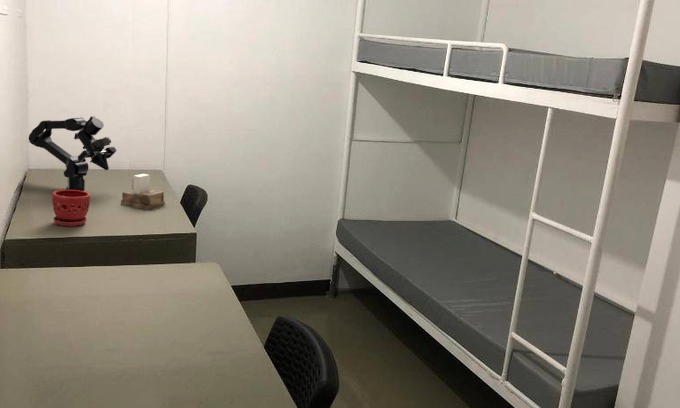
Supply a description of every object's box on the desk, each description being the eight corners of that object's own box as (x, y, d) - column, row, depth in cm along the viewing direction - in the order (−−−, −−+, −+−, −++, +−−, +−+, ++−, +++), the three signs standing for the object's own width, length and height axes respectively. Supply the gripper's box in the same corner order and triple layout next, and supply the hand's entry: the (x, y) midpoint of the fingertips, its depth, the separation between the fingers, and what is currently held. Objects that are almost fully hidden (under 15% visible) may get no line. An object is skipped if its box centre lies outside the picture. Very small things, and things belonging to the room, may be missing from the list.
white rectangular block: (131, 199, 273) (131, 175, 270) (140, 197, 278) (141, 173, 276) (139, 201, 271) (139, 177, 268) (149, 199, 277) (149, 174, 274)
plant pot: (73, 230, 230) (73, 198, 227) (44, 223, 234) (44, 192, 231) (97, 222, 242) (97, 192, 239) (69, 216, 246) (69, 187, 243)
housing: (120, 203, 272) (121, 190, 270) (139, 199, 282) (139, 186, 281) (146, 209, 267) (147, 195, 265) (164, 204, 277) (165, 191, 276)
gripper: (82, 132, 268) (102, 161, 267) (113, 129, 285) (132, 156, 284) (68, 147, 273) (88, 176, 271) (100, 143, 290) (118, 170, 288)
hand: (107, 169), depth 279 cm, fingers closed
